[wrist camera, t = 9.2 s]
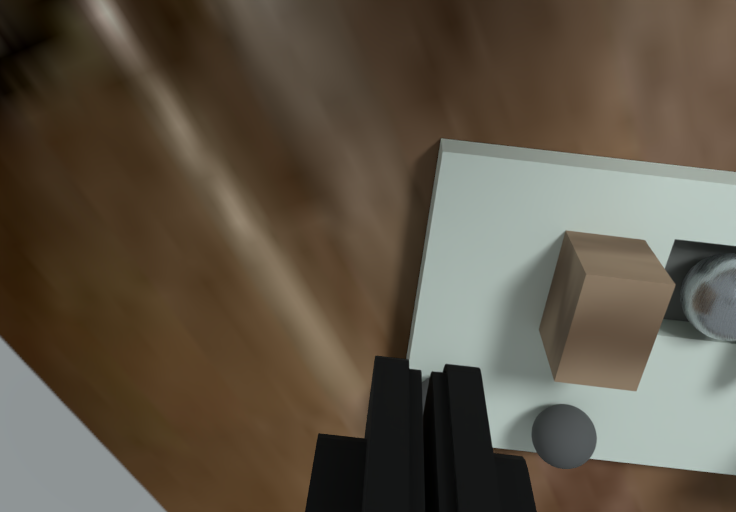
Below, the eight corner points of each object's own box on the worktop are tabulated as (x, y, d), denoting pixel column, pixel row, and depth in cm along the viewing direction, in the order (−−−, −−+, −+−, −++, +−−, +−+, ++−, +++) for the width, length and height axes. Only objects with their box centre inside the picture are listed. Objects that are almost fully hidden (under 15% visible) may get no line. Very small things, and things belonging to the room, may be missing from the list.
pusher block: (565, 230, 34) (586, 274, 31) (644, 240, 35) (675, 284, 31) (538, 329, 37) (554, 381, 33) (611, 338, 37) (636, 391, 33)
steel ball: (807, 264, 34) (718, 230, 37) (771, 292, 31) (678, 252, 34) (775, 339, 36) (693, 300, 39) (739, 370, 34) (653, 327, 36)
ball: (534, 387, 39) (544, 430, 36) (595, 394, 39) (611, 437, 36) (521, 434, 41) (530, 478, 38) (580, 441, 41) (594, 486, 38)
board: (440, 138, 35) (445, 173, 30) (874, 188, 35) (942, 231, 30) (397, 414, 43) (396, 473, 39) (746, 454, 43) (785, 517, 39)
